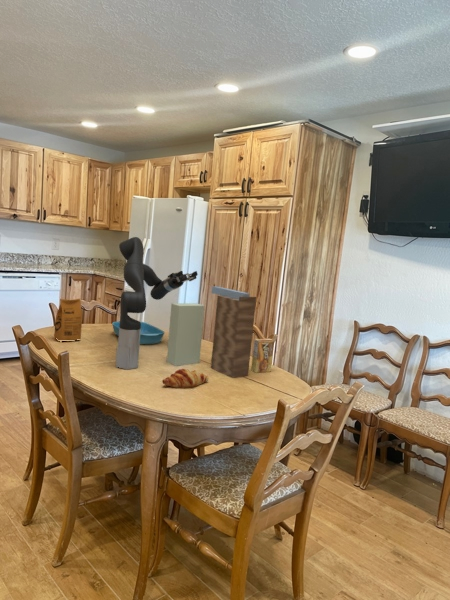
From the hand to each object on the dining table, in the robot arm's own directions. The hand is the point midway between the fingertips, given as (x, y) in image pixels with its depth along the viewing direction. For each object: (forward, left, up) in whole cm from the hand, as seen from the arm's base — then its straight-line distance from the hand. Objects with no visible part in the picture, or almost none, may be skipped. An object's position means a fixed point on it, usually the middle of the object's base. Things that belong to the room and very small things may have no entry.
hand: (189, 272), depth 211 cm
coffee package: (-15, +60, -42) cm, 75 cm away
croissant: (-40, -22, -42) cm, 62 cm away
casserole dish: (+14, +36, -42) cm, 57 cm away
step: (-13, -7, -42) cm, 44 cm away
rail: (-10, -26, -8) cm, 29 cm away
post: (-12, -30, -42) cm, 53 cm away
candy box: (-1, -42, -42) cm, 60 cm away
